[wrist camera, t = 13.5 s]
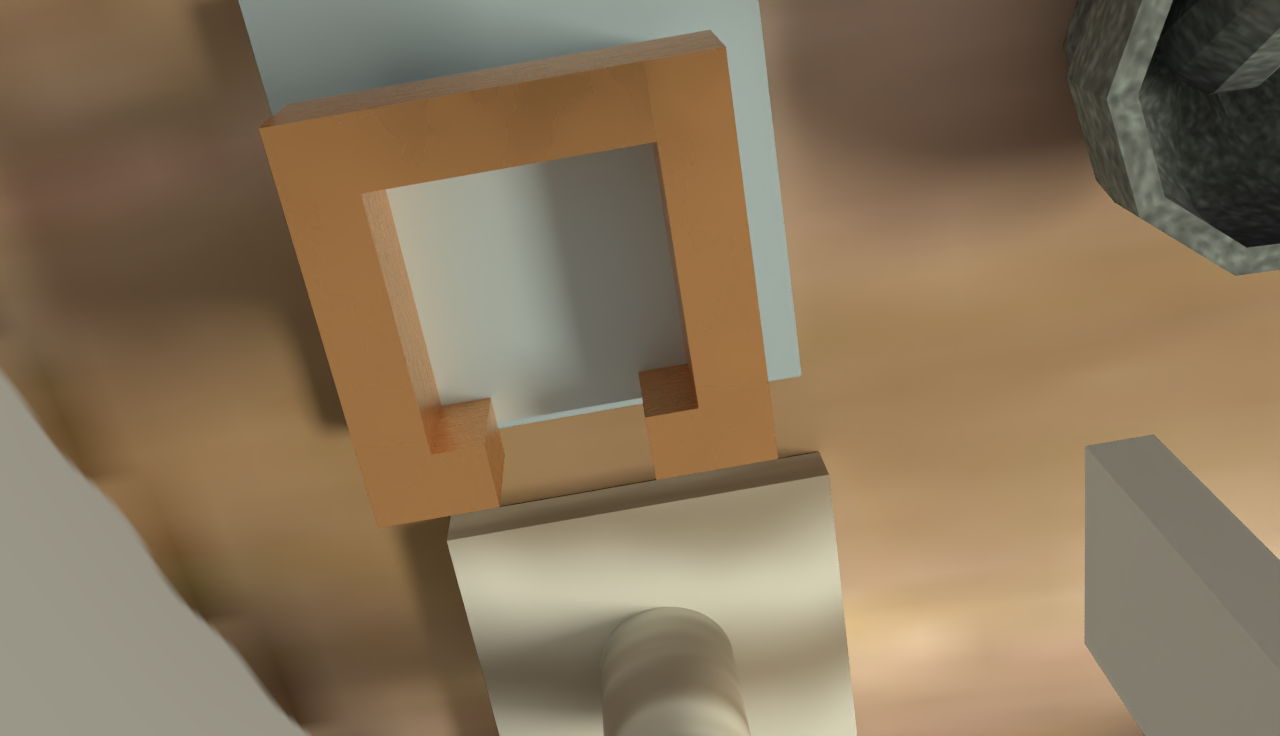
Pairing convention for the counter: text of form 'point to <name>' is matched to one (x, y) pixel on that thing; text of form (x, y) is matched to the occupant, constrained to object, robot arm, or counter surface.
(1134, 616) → the robot arm
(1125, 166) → the mortar and pestle
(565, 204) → the block
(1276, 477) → the counter surface
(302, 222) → the link
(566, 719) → the post stand
